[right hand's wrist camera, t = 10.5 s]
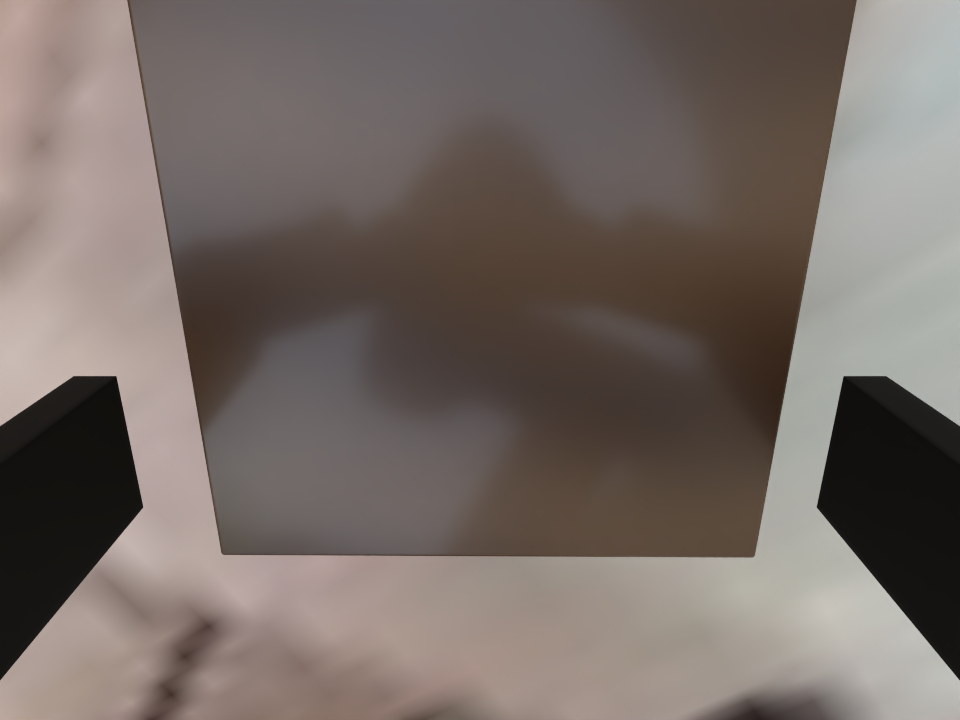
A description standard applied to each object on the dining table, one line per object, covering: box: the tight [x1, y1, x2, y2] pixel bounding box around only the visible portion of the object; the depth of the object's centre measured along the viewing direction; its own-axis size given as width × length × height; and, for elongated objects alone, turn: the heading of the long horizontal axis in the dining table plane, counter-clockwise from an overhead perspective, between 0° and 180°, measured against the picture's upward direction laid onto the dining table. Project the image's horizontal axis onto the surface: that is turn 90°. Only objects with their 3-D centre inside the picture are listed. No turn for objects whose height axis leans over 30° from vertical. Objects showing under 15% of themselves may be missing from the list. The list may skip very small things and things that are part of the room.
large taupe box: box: [127, 0, 856, 557], centre depth 15 cm, size 21×11×12 cm, turn 0°
